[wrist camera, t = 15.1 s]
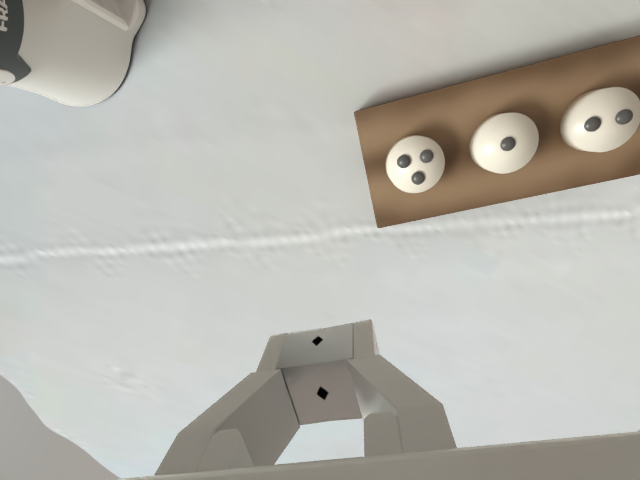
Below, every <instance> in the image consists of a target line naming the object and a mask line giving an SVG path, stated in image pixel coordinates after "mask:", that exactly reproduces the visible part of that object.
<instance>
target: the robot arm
mask: <svg viewBox="0 0 640 480" xmlns="http://www.w3.org/2000/svg"><path fill="white" fill-rule="evenodd" d="M145 14H146V7H145V4H144V1H143V0H0V85H8V86H12V87H16V88H20V89H24V90H27V91H31V92H34V93H37V94H40V95H43V96H45V97H48V98H50V99H52V100H54V101H56V102H59V103H62V104H65V105H69V106H77V107H83V106H91V105H94V104H97V103H100V102H102V101H104V100H105V99H107V98H108V97H110V96H111V95H112V94H113V93H114V92H115V91H116V90H117V88H118V87H119V86H120V84H121V83H122V81H123V79H124V77H125V75H126V72H127V69H128V66H129V62H130V56H131V48H132V42H133V39H134V36H135V34H136V33H137V31H138V29H139V28H140V26H141V24H142V22H143V20H144V18H145ZM359 418H363V421H364V453H365V457H354V458H343V459H332V460H321V461H310V462H299V463H289V464H278V465H274V464H275V462H276V461H277V459H278V458H279V456H280V455H281V454H282V452H283V451H284V449H285V448H286V446H287V445H288V444H289V442H290V441H291V439H292V438H293V436H294V435H295V433H296V432H297V431H298V429H299V428H300V426H299V425H305V424H312V423H319V422H326V421H335V420H347V419H359ZM114 480H640V431H639V432H628V433H617V434H606V435H595V436H584V437H573V438H562V439H551V440H540V441H530V442H520V443H510V444H498V445H487V446H476V447H465V448H457V447H456V444H455V441H454V438H453V435H452V432H451V429H450V426H449V423H448V420H447V416H446V413H445V410H444V407H443V404H442V403H440V402H439V401H438V400H437V399H435V398H434V397H433V396H431V395H430V394H429V393H428V392H426V391H425V390H424V389H423V388H421V387H420V386H419V385H418V384H416V383H415V382H414V381H413V380H411V379H410V378H409V377H407V376H406V375H405V374H404V373H402V372H401V371H400V370H399V369H397V368H396V367H395V366H394V365H392V364H391V363H390V362H388V361H387V360H386V359H385V358H383V357H382V356H381V355H380V354H379V349H378V345H377V340H376V336H375V331H374V327H373V323H372V321H371V319H370V320H365V321H360V322H355V323H350V324H345V325H339V326H334V327H328V328H323V329H321V328H320V329H313V330H306V331H298V332H291V333H284V334H278V335H273V336H271V337H270V338H269V341H268V343H267V346H266V348H265V351H264V353H263V356H262V358H261V361H260V363H259V366H258V368H257V371H256V372H255V373H250V374H249V375H248V376H247V377H246V378H244V379H243V380H242V381H241V382H240V383H238V384H237V385H236V386H235V387H234V388H232V389H231V390H230V391H229V392H228V393H226V394H225V395H224V396H223V397H222V398H220V399H219V400H218V401H217V402H216V403H214V404H213V405H212V406H211V407H209V408H208V409H207V410H206V411H205V412H203V413H202V414H201V415H200V416H199V417H197V418H196V419H195V420H194V421H193V422H191V423H190V424H189V425H188V426H187V427H185V428H184V429H183V430H182V431H181V432H179V433H178V435H177V436H176V438H175V440H174V442H173V443H172V445H171V447H170V449H169V450H168V452H167V454H166V456H165V457H164V459H163V461H162V463H161V464H160V466H159V468H158V470H157V471H156V473H155V475H154V476H147V477H136V478H124V479H114Z"/></svg>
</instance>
